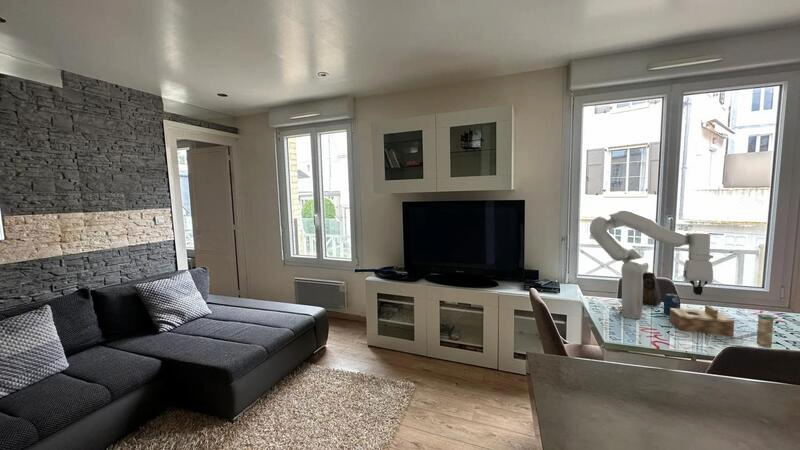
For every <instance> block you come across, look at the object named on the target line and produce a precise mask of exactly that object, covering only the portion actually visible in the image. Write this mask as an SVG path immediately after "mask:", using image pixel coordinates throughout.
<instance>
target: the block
mask: <svg viewBox="0 0 800 450" xmlns="http://www.w3.org/2000/svg"><path fill="white" fill-rule="evenodd" d="M757 317H758V318H757V319H758V320H757V330H756V331H757V332H756V333H757V334H756V344H758V345H759V346H761V347H765V348H768V349H769V348H771V349H772V343H773V330H774V320H775V317H773V316H771V315H770V314H761V313H758V314H757Z"/></svg>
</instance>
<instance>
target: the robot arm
mask: <svg viewBox="0 0 800 450" xmlns="http://www.w3.org/2000/svg"><path fill="white" fill-rule="evenodd" d="M620 227H627V228H629V229H631V230H634V231H636V232H638V233H641V234H643V235H645V236H647V237H649V238H650V239H653V240H655V241H657V242H660V243H661V244H664V245H667V246H670V247H672V248H673V247H674V248H680V247H683V246H688V254H687V255H688V258H686V259H685V262H684V264H683V265H684V267H683V278H684V279H683V281H684V282H686V283H687V284H688V283H689V284H691V285H692V292H693V293H694V295H696V296H702V294H703V288H704V287H705V285H707V284H708V285H709V284H713V282H714V269H713V268H714V267H713V263H712V261H711V259H714V255H713V254H712V255H711V253H710V252H711V250H710V249H711V248H710V247H711V234H710V233H709V232H706V231H705V232H704V231H686V230H677V231H674V230H671V229H670V228H666V227H664V226H662V225H660V224H658V223H657V222H656V221H655V220H654V219H652V218H650V217H647V216H644V215H642V214H638V213H637V212H636V211H635V210H633V209H629V208H625V209H621V210H619V211H618V212H615V213H612V214H608V215H603V216H601V215H600V216H598V217H595V218H594V219H593V220H592V221H591V223H590V225H589V231H590V235H591V237H592V238H593V239H594V241H596V242H597V244H598V246H601V248H602V250H604V251H605V253H607V255H608V256H609V257H610V258H611V259H613V260H614V261H616V262H622V263H623V264H622V266H621V304H619V306H614V305H612V306H611V307H610V308H611V310H612V311H613V310H614V311H615V312H617V314H618V315H619V314H620V315H619V316H621V317H623V316H624V318H627V319H632V320H641V318H643V319H644V318H645V317H647V316H646V313H643V304H644V303H643V274H644V273H645V272H647V271H648V270H649V263H648V261H647V260H646V259H645V258H644V257H643V256H642V255H641V254H640V253H639V252H638V250H636V249H635V248H634V247H633V246H631V245H630V244H629V243H625V242H619V240H618V239H616V237H615V236H614V235H612V234H611V233H610V232H609V231H610V230H613V229H616V228H620Z"/></svg>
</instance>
